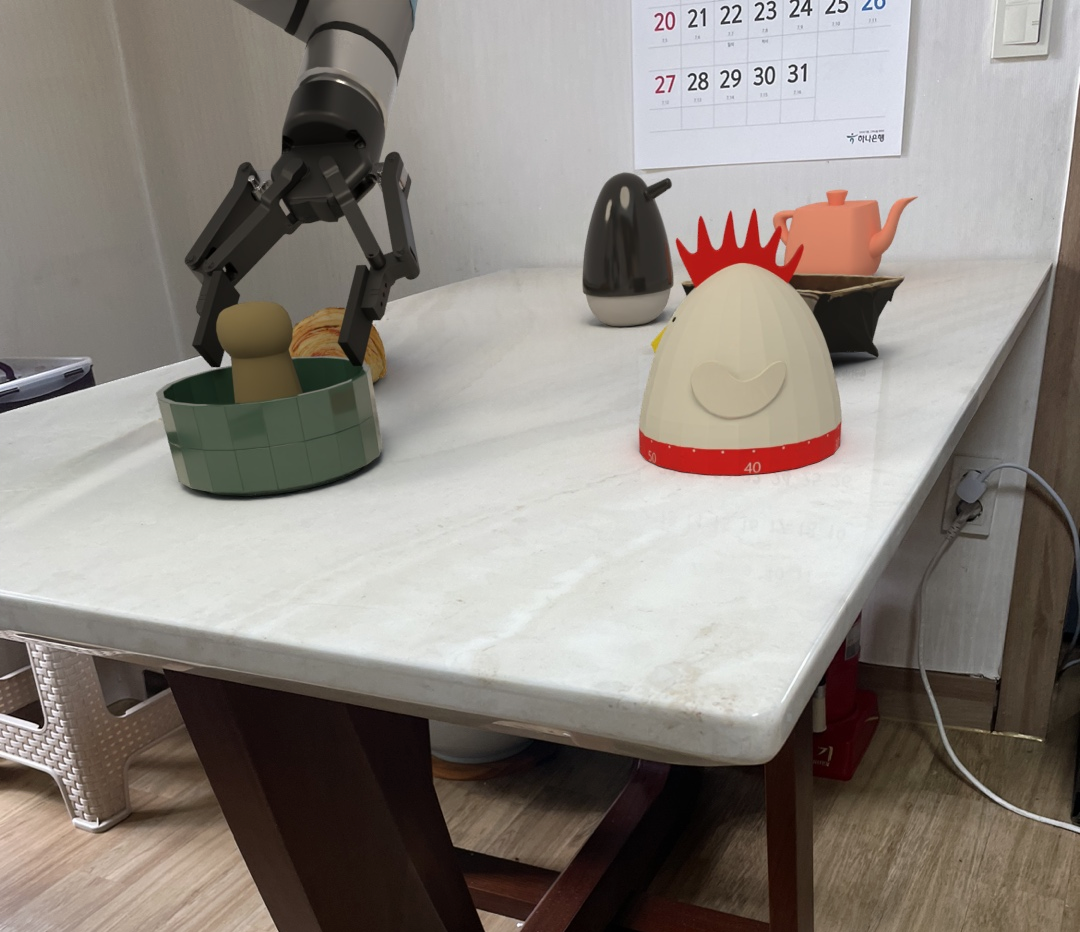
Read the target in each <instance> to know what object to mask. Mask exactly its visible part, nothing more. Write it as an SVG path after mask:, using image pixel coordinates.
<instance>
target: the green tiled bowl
mask: <svg viewBox="0 0 1080 932" xmlns="http://www.w3.org/2000/svg"><path fill="white" fill-rule="evenodd" d="M292 361H293V364H294V367H295V371H296V374H297V377H298V380H299V383H300V386H301V389H302V392H303V394H299V395H294V396H288V397H282V398H276V399H269V400H263V401H254V402H243V403H235V396H234V386H233V375H232V364H230V365H227V366H223V367H216V368H212V369H209V370H205V371H204V370H203V371H201V372H197V373H194V374H191V375H187V376H184V377H181V378H178V379H176V380H174V381H172V382H169V383H166V384H165V385H164V386H162V387H161V388H160V389H159V390H157V391H156V393H155V394H156V400H157V404H158V407H159V411H160V415H161V420H162V424H163V427H164V430H165V434H166V438H167V442H168V445H169V450H170V453H171V457H172V461H173V466H174V468H175V473H176V476H177V480H178V482H179V483H180V484H182V485H184V486H186V487H188V488H190V489H192V490H198V491H203V492H206V493H209V494H214V495H219V496H228V497H257V496H271V495H280V494H285V493H292V492H299V491H303V490H307V489H312V488H317V487H321V486H323V485H328V484H330V483H333V482H336V481H339V480H341V479H344V478H347V477H348V476H351V475H352V474H355V473H356V472H358V471H359V470H361V469H363V467H365V466H367V465H369V464H370V463H372V461H374V460H375V459H377V458H378V457H380V455H381V452H382V449H383V440H382V439H383V438H382V434H381V427H380V421H379V414H378V408H377V401H376V395H375V390H374V389H375V388H374V382H372V375H371V369H370V366H369V365H367V364H366V363H365V362H363V366H353V365H352V364H351V362H350V361H349V359H348V358H346V357H329V356H317V357H293V358H292Z"/></svg>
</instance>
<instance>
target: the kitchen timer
mask: <svg viewBox="0 0 1080 932" xmlns="http://www.w3.org/2000/svg"><path fill="white" fill-rule="evenodd" d="M781 233H782V228H781V226H778V227H777V228H776V230H775V229H774V232H773V233H772V235H771V236H770V239H769V240H768V242H767V244H766V245H765V246H763V247H762V244H761V241H760V240H761V239H760V231H759V223H758V213H757V209H756V208H752V211H751V214H750V217H749V222H748V226H747V231H746V235H745V240H744V243H743V245H742V247H739V246H738V243H737V239H736V232H735V226H734V216H733V212H732V210H729V212H728V214H727V218H726V223H725V226H724V231H723V236H722V241H721V245H720V247H719V248H718V249H716V248H714V247H713V244H712V242H711V239H710V236H709V232H708V228H707V226H706V222H705V220H704V218H703V216H702V215H699V217H698V222H697V236H696V239H697V240H696V251H695V252H693V253H692V252H690V251H689V250H688V249H687V247H685V245H684V244H683V242H682V241H681V239H679V238H678V237H676V239H675V246H676V249H677V251H678V255H679V257H680V259H681V262H682V263H683V266H684V267H685V270H686V271H687V274H688V276H689V278H690V281H691V280H692V282H693V284H694V286H695V288H694V289H693V290H692V291H691V292H690V293H689V294H688V295H687V296H686V297H684V299H683V300H682V301H681V303H680V304H679V306H678V307H677V308H676V310H675V311H674V313H673V315H672V316H671V318H670V319H669V320H668V323H667V324H666V326H665V327H664V328H663V329H662V330H661V331H660V333H658V335H657V336H656V337H655V338H654V339H653V340H652V341H651V344H650V346H651V348H652V351H653V352H654V357H653V359H652V363H651V366H650V369H649V373H648V377H647V381H646V384H645V389H644V392H643V397H642V401H641V406H640V411H639V412H640V413H639V419H638V420H639V422H638V442H639V443H638V444H639V445H638V447H639V453H640V455H641V456H642V457H643V458H644V460H645V461H647V462H650V463H651V464H653V465H656V466H657V467H661V468H665V469H667V470H668V469H669V470H673V471H676V472H680V473H681V472H682V473H691V474H699V475H700V474H701V475H708V476H709V475H713V476H714V475H716V476H743V475H757V474H758V475H760V474H770V473H776V472H782V471H787V470H793V469H799V468H802V467H805V466H810V465H812V464H815V463H819V462H821V461H823V460H825V459H827V458H829V457H831V456H832V455H834V454H835V453H836V452H837V451H838V449H839V448H840V446H841V437H842V422H843V421H842V406H841V397H840V391H839V388H838V382H837V378H836V375H835V370H834V367H833V362H832V359H831V353H829V350H828V347H827V344H826V341H825V339H824V336H823V333H822V331H821V329H820V327H819V324H818V322H817V320H816V319H815V317H814V315H813V313H812V311H811V310H810V308H809V307H808V305H807V304H806V302H805V301H804V299H803V298H802V297H801V296H800V294H799V293H798V292H797V291H796V290H795V289H794V288H793V287H792V286H791V285H790V284H789V283H788V282H789V281H790V279H791V278H792V276H793V274H794V272H795V270H796V268H797V266H798V264H799V261H800V259H801V256H802V253H803V250H804V246H803V244H801V245H800V247H799V248H798V249H797V251H796V252H795V254H794V256H793V257H792V259H791V260H790V261H789V262H788V263H787V264H786V265H784V264H783V265H779V264H777V262H776V259H777V252H778V249H779V245H780V241H781V239H780V238H781Z"/></svg>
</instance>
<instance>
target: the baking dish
mask: <svg viewBox="0 0 1080 932" xmlns="http://www.w3.org/2000/svg"><path fill="white" fill-rule="evenodd" d="M905 278H906V276H891V275H888V276H887V275H871V276H864V275H843V274H840V275H836V274H817V273H815V274H806V273H794V274H793V276H792V278H791V279H790V281H789V282H788V283H789V284H790V285H791V286H792V287H793V288H794V289H795V290H796V291H797V292H798V293H799V294H800V296H801V297H802V298H803V299H804V301H805V302H806V304H807V305H808V307H809V308H810V310H811V311H812V313H813V315H814V317H815V319H816V320H817V322H818V324H819V327H820V329H821V331H822V333H823V336H824V339H825V341H826V344H827V347H828V350H829V354H843V353H844V354H845V353H846V354H847V353H867V354H869V355H871V356H873V357H874V358H877V359H878V358H879V356H880V355H879V350H878V348H877V346H876V345H875V343H874V338H875V334H876V330H877V326H878V323H879V318H880V316H881V314H882V312H883V311H884V309H885V307H886V305H887V304H888V302H890V303H891V302H893V298H894V294H895V291H896V290H897V289H898V288H899V286H901V284H902V283H903V282H904V280H905ZM680 284H681V286H682V288H683V291H684V293H685V295H686V296H687V295H688V294H689V293H690V292H691V291H692V290H693V289H694V288H695V286H694V284H693V282H692V280H691V279H690V280H685V281H683V282H681V283H680Z"/></svg>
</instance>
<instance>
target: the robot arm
mask: <svg viewBox="0 0 1080 932" xmlns="http://www.w3.org/2000/svg"><path fill="white" fill-rule="evenodd" d="M232 1H234V2H235V3H237V4H239V5H241V6H242V7H244V8H246V9H247V10H249V11H251V12H253V13H254V14H255V15H258V16H260V17H261V18H263V19H265V20H267V21H268V22H270V23H272V24H273V25H275V26H277V27H278V28H280V29H282V30H283V31H284V32H285V33H287V34H289V35H291V36H292V37H294V38H296V39H298V40H299V41H301V42H302V43H304V44H306V45H305V48H304V51H303V55H302V58H301V61H300V65H299V67H298V72H297V75H296V79H295V81H294V84H293V89H292V95H291V98H290V100H289V105H288V109H287V111H286V116H285V119H284V123H283V127H282V131H281V153H280V156H279V158H278V159H277V160H276V162H275V163H274V164H273V165H272V167H271V169H260V170H256V169H255V168H254V165H253V164H252V163H251V162H250V161H245V162H242V163H241V164H239V166H238V167H237V171H236V174H235V177H234V181H233V185H232V186H231V188H230V189H229V191H228V192H227V194H226V196H224V198H223V200H222V201H221V202H220V205H219V206H218V207H217V209H216V210H215V212H214V213H213V215H212V216H211V218H210V220H209V221H208V222H207V223H206V225H205V227H204V229H203V230H202V231H201V232H200V234H199V236H198V238H197V239H196V240H195V242H194V244H193V245H192V247H191V248H190V249H189V251H188V252H187V254H186V256H185V258H184V264H185V265H186V267H187V268H188V269H189V271H190V272H191V273H192V274H193V275H194V277H195V278H196V279H197V280H198V281H199V283H200V284H201V288H200V290H199V296H198V298H197V301H196V305H195V310H196V314H198V316H199V319H198V322H197V325H196V329H195V330H196V331H195V332H194V337H193V340H192V343H191V346H192V347H193V348H194V349H195V351H196V352H197V353H198V354H199V355H200V356H201V357H202V359H203V360H204V361H205V362H206V363H207V364H208V366H210V368H212V369H214V368H221V366H222V363H223V358H224V355H225V353H226V351H225V350H224V349H223V348H222V346H221V344H220V342H219V340H218V335H217V331H216V324H217V319H218V316H219V314H220V313H221V312H222V311H223V310H224V309H226V308H228V307H231V306H233V305H236V304H239V301H240V297H241V294H240V292H239V291H238V289H236V286H237V285H238V284H239V283H240V282H241V280H242V279H243V278H245V277H246V275H248V273H249V272H250V271H251V270H252V269H253V268H254V267H255V266H256V265H257V264H258V263H259V262H260V260H261V259H262V258H264V256H265V255H266V254H267V253H269V251H270V250H271V249H272V248H273V247H274V246H275V245H276V244H277V243H278V242H279V241H280V240H281V239H282V238H283V236H285V235H292V234H294V233H295V232H296V231H297V230H298V229H299V227H301V226H302V225H304V224H314V223H317V222H326V223H338V222H339V219H341V218H343V217H345V219H346V221H347V223H348V225H349V228H350V229H351V231H352V233H353V235H354V236H355V238H356V241H357V243H358V244H359V247H360V249H361V251H362V252H363V254H364V257H365V259H366V260H367V263H368V264H369V268H368V265H367V264H357V265H355V269H354V274H353V278H352V281H351V286H350V289H349V293H348V298H347V302H346V306H345V309H346V310H345V314H344V318H343V322H342V326H341V330H340V334H339V338H338V342H337V343H338V344H339V346H340V347H341V349H342V350H343V352H344V353H345V355H346V356H347V358H348V359H349V361H350V362H351V364H352V365H353V366H363V362H364V357H365V353H366V349H367V345H368V340H369V336H370V332H371V328H372V324H373V323H374V321H382V319H383V317H384V316H385V313H386V309H387V304H388V301H389V296H390V292H391V288H392V287H393V286H394V285H395V283H396V282H397V280H399V279H402V278H405V279H407V280H409V281H412V280H416V279H417V278H418V277H419V275H420V274H421V268H420V263H419V257H418V252H417V247H416V242H415V241H416V240H415V236H414V229H413V225H412V224H413V223H412V219H411V213H410V208H409V203H408V202H409V201H408V198H409V194H410V190H411V186H412V179H411V178H412V177H411V176H410V174H409V172H408V169H407V167H406V165H405V163H404V161H403V159H402V157H401V155H400V154H401V153H399V152H398V151H391V152H388V154H387V155H386V156H385V157H384V161H381V162H380V160H381V156H382V152H383V148H384V144H385V140H386V132H387V130H388V126H389V121H390V118H391V113H392V110H393V106H394V102H395V98H396V95H397V94H396V93H397V91H398V86H399V85H398V84H399V80H400V77H401V72H402V69H403V65H404V62H405V57H406V54H407V51H408V47H409V42H410V39H411V36H412V32H413V31H414V30H415V23H416V12H417V6H418V1H419V0H232ZM376 184H377V185H378V187H379V189H380V191H381V192H382V198H383V199H382V200H383V204H384V211H385V216H386V222H387V227H388V234H389V239H390V245H391V251H389V252H388V253H385V254H384V251H383V250H382V249H381V246H380V245H379V242H378V240H377V239H376V237H375V235H374V233H373V231H372V229H371V227H370V226H369V223H368V221H367V219H366V217H365V215H364V213H363V212H362V209H361V208H360V205H359V203H360V202H361V201H362V200H363V198H365V197H366V196H367V195H368V194H369V193H370V192H371V191H372V190H373V189H374V188H375V187H376ZM281 200H282V202H283V205H285V207H286V209H287V210H288V212H289V213H288V214H286V213H285V211H284V210H283V208H282V206H281V204H280V202H281ZM224 268H225V270H224Z"/></svg>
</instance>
